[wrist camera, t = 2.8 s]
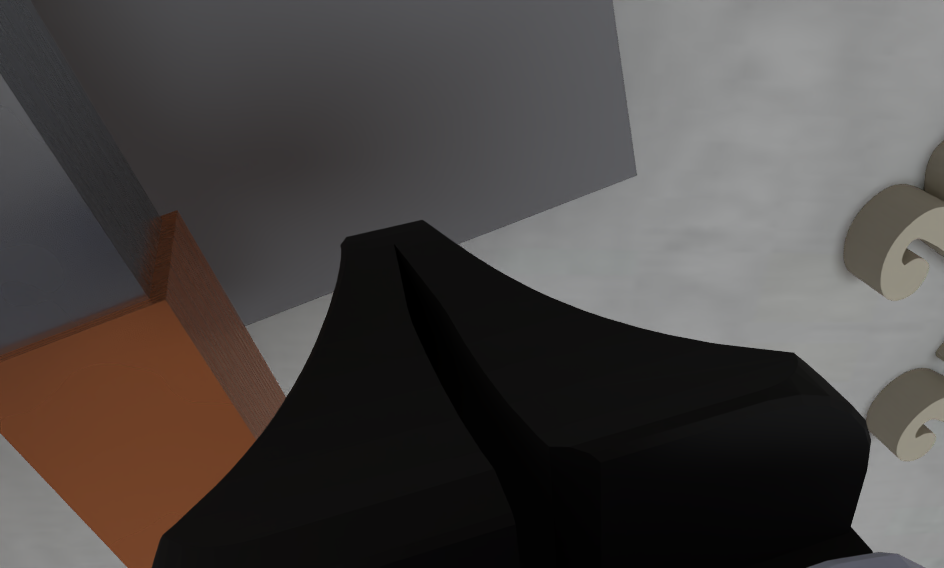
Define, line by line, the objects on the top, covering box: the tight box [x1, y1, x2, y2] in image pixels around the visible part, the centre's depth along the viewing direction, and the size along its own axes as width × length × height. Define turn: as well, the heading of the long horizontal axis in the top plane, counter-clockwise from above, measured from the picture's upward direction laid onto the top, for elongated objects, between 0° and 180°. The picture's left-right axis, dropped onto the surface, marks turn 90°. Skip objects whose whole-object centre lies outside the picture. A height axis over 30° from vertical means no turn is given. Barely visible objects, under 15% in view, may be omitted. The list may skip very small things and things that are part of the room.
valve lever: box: [0, 0, 286, 568], centre depth 8 cm, size 12×3×2 cm, turn 15°
